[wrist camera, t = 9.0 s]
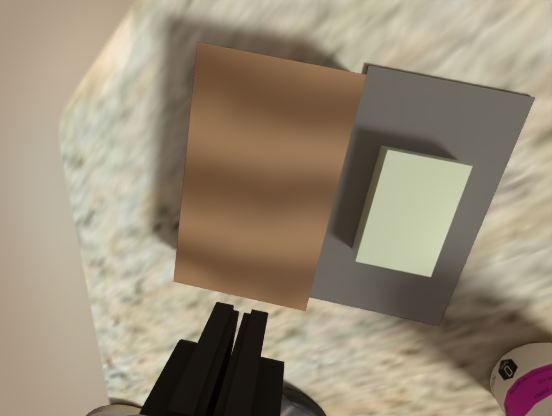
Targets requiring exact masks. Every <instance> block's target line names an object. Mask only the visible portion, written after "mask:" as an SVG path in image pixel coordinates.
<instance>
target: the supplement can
mask: <svg viewBox="0 0 552 416" xmlns="http://www.w3.org/2000/svg"><path fill="white" fill-rule="evenodd" d="M490 386H491V391H492V394H493V396H494V398H495V399H496V401H497V403H498V404H499V406H500V407H501V409H502V411H503V412H504V414H505V416H552V343H528V344H525V345H522V346H519V347H516V348H514V349H512V350H511V351H509V352H508V353H506V354H505V355H503V356H502V357H501V359H500V360H499V361H498V363H497V364H496V365H495V368H494V369H493V371H492V375H491V379H490Z"/></svg>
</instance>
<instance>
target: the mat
mask: <svg viewBox="0 0 552 416" xmlns="http://www.w3.org/2000/svg"><path fill="white" fill-rule="evenodd" d="M534 99H535V97H529V96H524V95H519V94H514V93H509V92H504V91H499V90H493V89H488V88H483V87H478V86H473V85H468V84H463V83H457V82H452V81H447V80H442V79H437V78H432V77H427V76H421V75H416V74H411V73H406V72H401V71H396V70H391V69H385V68H380V67H375V66H370V65H369V66H368V69H367V72H366V78H365V82H364V86H363V90H362V94H361V97H360V101H359V105H358V109H357V113H356V117H355V121H354V125H353V128H352V132H351V136H350V140H349V144H348V148H347V152H346V156H345V159H344V163H343V167H342V171H341V175H340V179H339V183H338V186H337V190H336V194H335V198H334V202H333V206H332V210H331V214H330V217H329V221H328V225H327V229H326V233H325V237H324V241H323V245H322V248H321V252H320V256H319V260H318V264H317V268H316V272H315V276H314V279H313V283H312V287H311V291H310V295H309V297H311V298H315V299H320V300H324V301H329V302H333V303H338V304H342V305H347V306H351V307H356V308H360V309H365V310H369V311H374V312H378V313H383V314H387V315H392V316H396V317H401V318H405V319H410V320H414V321H419V322H423V323H428V324H432V325H437V326H439V324H440V322H441V319H442V317H443V315H444V312H445V310H446V308H447V305H448V303H449V301H450V298H451V296H452V293H453V291H454V289H455V286H456V284H457V282H458V279H459V277H460V274H461V272H462V270H463V267H464V265H465V263H466V260H467V258H468V256H469V253H470V251H471V248H472V246H473V244H474V241H475V239H476V237H477V234H478V232H479V229H480V227H481V225H482V222H483V220H484V218H485V215H486V213H487V211H488V208H489V206H490V203H491V201H492V199H493V196H494V194H495V192H496V189H497V187H498V184H499V182H500V180H501V177H502V175H503V173H504V170H505V168H506V166H507V163H508V161H509V158H510V156H511V154H512V151H513V149H514V147H515V144H516V142H517V139H518V137H519V135H520V132H521V130H522V128H523V125H524V123H525V121H526V118H527V116H528V113H529V111H530V109H531V106H532V104H533V102H534ZM381 145H382V146H387V147H392V148H397V149H403V150H408V151H413V152H418V153H423V154H428V155H434V156H439V157H444V158H449V159H454V160H459V161H461V162H464V163H466V164H469V165H471V166H473V167H472V169H471V172H470V175H469V177H468V180H467V183H466V185H465V188H464V191H463V193H462V196H461V199H460V201H459V204H458V206H457V209H456V212H455V214H454V217H453V220H452V222H451V225H450V228H449V230H448V233H447V236H446V238H445V241H444V243H443V246H442V249H441V251H440V254H439V257H438V259H437V262H436V265H435V267H434V270H433V273H432V275H431V277H428V276H423V275H418V274H413V273H409V272H404V271H399V270H394V269H389V268H384V267H380V266H375V265H370V264H365V263H360V262H356V261H355V258H354V254H353V251H352V247H353V243H354V240H355V236H356V232H357V229H358V225H359V222H360V218H361V215H362V211H363V207H364V204H365V200H366V197H367V193H368V190H369V186H370V183H371V179H372V175H373V172H374V168H375V165H376V161H377V158H378V154H379V150H380V147H381Z"/></svg>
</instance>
